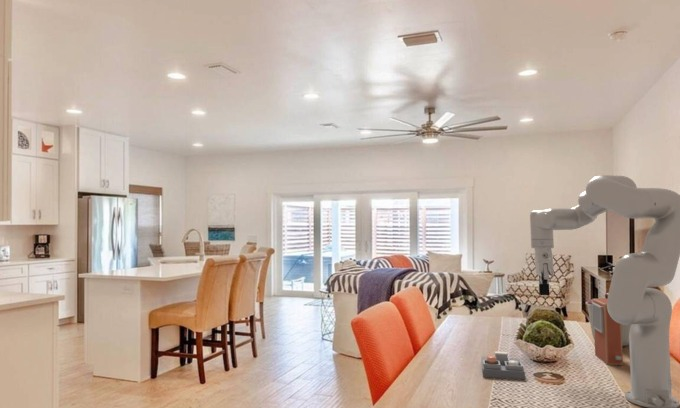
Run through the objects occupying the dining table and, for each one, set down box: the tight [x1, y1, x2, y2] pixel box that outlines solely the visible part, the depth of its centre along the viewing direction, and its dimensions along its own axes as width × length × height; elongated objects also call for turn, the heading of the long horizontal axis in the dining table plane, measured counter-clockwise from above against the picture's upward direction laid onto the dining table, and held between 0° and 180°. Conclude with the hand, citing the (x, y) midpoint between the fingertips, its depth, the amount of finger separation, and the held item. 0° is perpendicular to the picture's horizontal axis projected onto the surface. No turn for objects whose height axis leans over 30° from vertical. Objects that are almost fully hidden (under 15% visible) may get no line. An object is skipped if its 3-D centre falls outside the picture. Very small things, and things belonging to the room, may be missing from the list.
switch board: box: [481, 354, 526, 381], centre depth 160 cm, size 15×13×4 cm
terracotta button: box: [486, 355, 497, 363], centre depth 158 cm, size 3×3×2 cm
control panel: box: [592, 298, 624, 366], centre depth 172 cm, size 21×7×15 cm
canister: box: [585, 292, 631, 347], centre depth 195 cm, size 18×18×21 cm
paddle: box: [494, 350, 509, 363], centre depth 162 cm, size 2×4×3 cm, turn 75°
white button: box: [508, 360, 519, 366], centre depth 156 cm, size 3×3×2 cm
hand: (544, 294), depth 169 cm, fingers closed
